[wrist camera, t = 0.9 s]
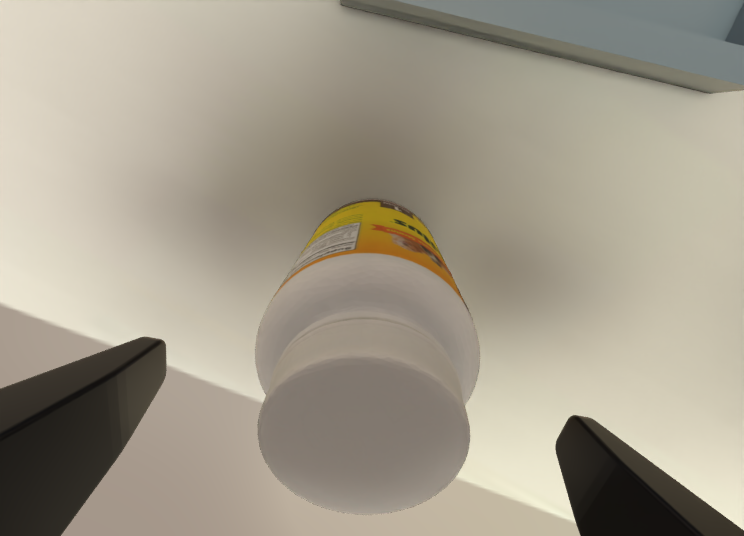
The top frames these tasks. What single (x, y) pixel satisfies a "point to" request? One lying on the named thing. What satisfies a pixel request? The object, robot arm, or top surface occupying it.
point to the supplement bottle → (367, 365)
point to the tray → (602, 33)
